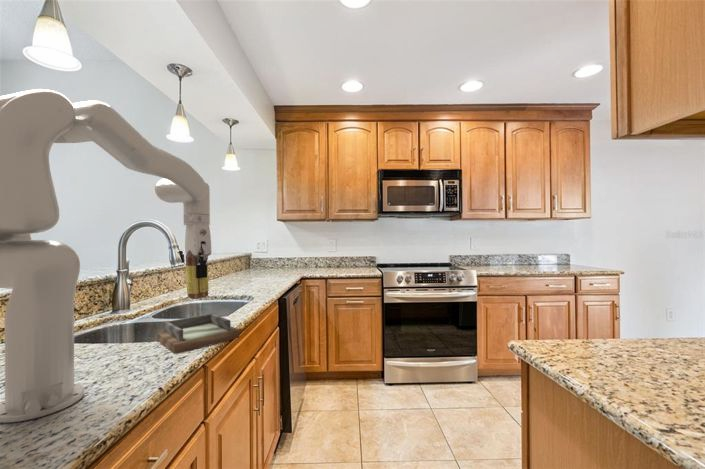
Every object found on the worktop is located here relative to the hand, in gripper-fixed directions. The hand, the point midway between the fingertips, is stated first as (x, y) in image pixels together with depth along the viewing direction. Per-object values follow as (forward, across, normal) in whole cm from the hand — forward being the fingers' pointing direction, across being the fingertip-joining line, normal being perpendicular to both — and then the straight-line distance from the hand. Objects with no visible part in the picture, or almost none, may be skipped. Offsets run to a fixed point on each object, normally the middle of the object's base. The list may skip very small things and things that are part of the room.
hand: (197, 276), depth 101 cm
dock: (+20, -1, 0) cm, 20 cm away
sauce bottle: (+7, 0, 0) cm, 7 cm away
